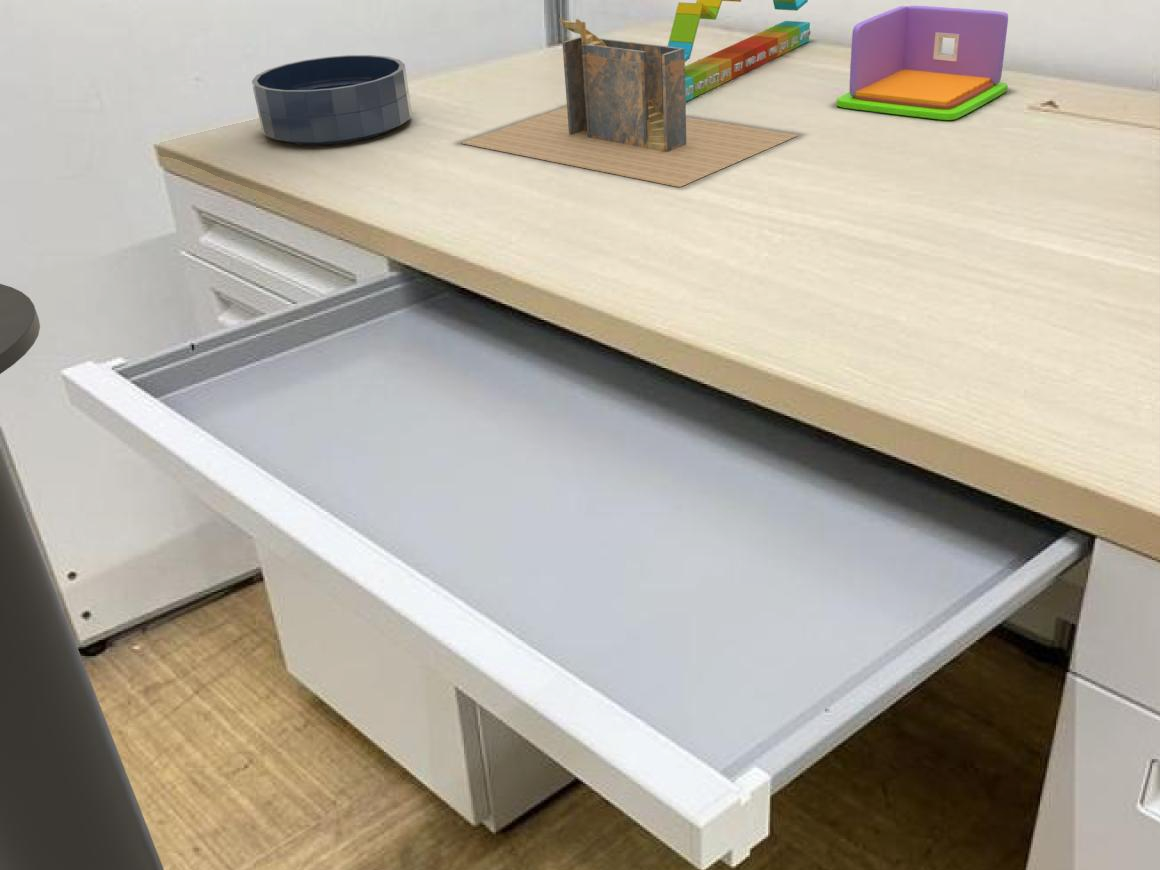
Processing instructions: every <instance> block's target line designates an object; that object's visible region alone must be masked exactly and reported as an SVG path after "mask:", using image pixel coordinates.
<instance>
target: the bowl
mask: <svg viewBox="0 0 1160 870" xmlns="http://www.w3.org/2000/svg"><path fill="white" fill-rule="evenodd" d="M251 85H252V89H253V94H254V100H255V104H256V108H257V113H258V118H259V122H260V127H261V130H262V132H263V134H264V136H266V137H268V138H270V139H272V140H273V139H274V140H275V141H276V140H277V141H284V142H286V143H290V144H294V145H295V144H296V145H301V146H304V145H305V146H328V145H329V146H330V145H338V144H347V143H353V142H359V141H363V140H367V139H371V138H375V137H378V136H381V135H383V134H386V133H389V132H390V131H392V130H393V129H395V128H397V127H399V126H402V125H403V124H405V123H406V122H407V121H409V120H410V119H411V116H412V114H413V111H412V105H411V104H412V103H411V96H410V91H409V82H408V76H407V69H406V64H405V63H404V62H403V61H402V60H401V59H398V58H394V57H390V56H386V55H385V56H384V55H373V54H347V55H334V56H333V55H332V56H324V57H323V56H322V57H317V58H309V59H303V60H298V61H293V62H289V63H285V64H281V65H278V66H275V67H272V68H268V69H266V70H264V71H262V72H260V73H258V74H256V75H255V76H254V77H253V79H252V80H251Z"/></svg>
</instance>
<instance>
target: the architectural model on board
mask: <svg viewBox="0 0 1160 870" xmlns="http://www.w3.org/2000/svg"><path fill="white" fill-rule="evenodd" d="M558 20H559V23H562V28H563V29H566V30H567V31H570V32H572V33H574V34H578V35H580V36H578V37H575V38H572V39H569V40H565V41H562V56H563V57H562V58H563V68H564V69H563V70H564V71H563V72H564V85H565V97H566V99H565V100H566V106H564V107H562V108H559V109H556V110H553V111H550V112H547V113H545V114H540V115H538V116H536V117H533V118H530V119H526V120H524V121H521V122H518V123H515V124H513V125H512V124H511V125H510V126H506V127H503V128H501V129H497V130H495V131H492V132H489V133H486V134H483V135H480V136H478V137H475V138H474V137H473V138H471V139H469V140H466V141H462V142H461V144H463V145H468V146H473V147H478V148H483V149H488V150H492V151H498V152H502V153H503V152H504V153H508V154H512V155H517V156H522V157H528V158H533V159H538V160H543V161H548V162H552V163H558V164H562V165H567V166H572V167H578V168H581V169H582V168H583V169H587V170H593V171H597V172H602V173H607V174H612V175H617V176H622V177H627V178H632V179H637V180H642V181H647V182H652V183H656V184H657V183H658V184H662V185H666V186H667V185H668V186H673V187H676V188H677V187H678V188H681V187H683V186H686V185H688V184H690V183H693V182H695V181H697V180H700V179H702V178H704V177H706V176H709V175H711V174H713V173H715V172H718V171H721V170H722V169H724V168H727V167H729V166H732V165H734V164H737V163H738V162H741V161H743V160H745V159H747V158H750V157H752V156H755V155H757V154H759V153H761V152H764V151H765V150H769V149H770V148H773V147H776V146H777V145H780V144H782V143H784V142H787V141H789V140H791V139H793V138H796V137H798V136H799V135H798V134H793V133H786V132H780V131H774V130H767V129H762V128H754V127H748V126H741V125H736V124H729V123H723V122H717V121H711V120H705V119H704V120H703V119H699V118H697V119H696V118H691V117H687V109H686V108H687V106H686V105H687V103H686V102H687V101H686V97H685V66H686V62H685V48H677V47H668V45H659V44H651V43H643V42H635V41H626V40H617V39H609V38H601V37H598V36H597V35H596V34H594V33H593V32H591V31H590V30H588V29H587V26H586V25H587V24H586V21H581V20H580V19H579V18H575V21H570V20H565V19H563V18H561V17H559V19H558Z"/></svg>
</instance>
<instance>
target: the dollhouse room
mask: <svg viewBox="0 0 1160 870" xmlns="http://www.w3.org/2000/svg"><path fill="white" fill-rule="evenodd" d="M1008 25H1009V14H1008V12H1006V11H999V10H989V9H988V10H986V9H974V8H973V9H972V8H957V7H945V6H943V7H942V6H928V5H901V6H897V7H895V8H892V9H889V10H887V11H884V12H882V13H879V14H877V15H873V16H872V17H869V18H867V19H865V20H862V21H860V22H858V23H856V24H855V25H854V26H853V28H852V34H851V47H850V48H851V49H850V67H849V70H850V71H849V88H848V89H849V92H847V93H844V94H842V95H841V96H839V97H838V98H837V99H836V106H837V107H838V108H842V109H849V110H856V111H857V110H858V111H865V112H866V111H867V112H874V113H883V114H889V115H898V116H905V117H907V116H908V117H915V118H923V119H932V120H940V121H941V120H942V121H954V120H957V119H959V118H962V117H964V116H965V115H967V114H970V113H971V112H974V111H975V110H976V109H978V108H980V107H983V106H984V105H986V104H987V103H989V102H991V101H993V100H995V99H997V98H998V97H1000V96H1002V95H1003V94H1005V93H1006V92H1007V91H1008V83H1006V82H1003V81H1002V82H1001V80H1002V74H1003V67H1004V57H1005V50H1006V41H1007V33H1008ZM944 38H947V39H954V46H953V54H952V53H944V52H943V43H944V42H943V41H944Z"/></svg>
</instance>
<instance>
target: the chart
mask: <svg viewBox="0 0 1160 870" xmlns="http://www.w3.org/2000/svg"><path fill="white" fill-rule="evenodd" d="M808 1H809V0H772V3H773V7H774V10H776V11H777V10H778V11H795V12H796V11H799V10H800V9H801V8H802V7H804V5H806V4H807V3H808ZM723 2H737V3H738V2H739V3H740V2H742V0H696V2H695V3H694V2H680V1H679V2H678V3H677V7H676V11H675V14H674V19H673V22H672V27H671V30H670V35H669V39H668V42H667V46H668V47H677V48H685V63H686V62H687V61H689V60H690V59H691V55H692V51H693V48H694V44H695V41H696V36H697V32H698V28H699V24H700V20H715V21H716V19H717V18H718V14H719V11H720V8H721V6H722V3H723ZM810 28H811V22H810V21H799V20H798V21H795V20H783V21H781V22H779V23H776V24H775V25H773V26H771V27H768V28H766V29H764V30H763V31H760V32H758V33H756V34H754V35H751V36H750V37H749V36H748V37H747V38H745V39H742V40H740V41H738V42H735V43H733V44H730V45H729V46H727V47H725V48H722V49H720V50H718V51H716V52H714V53H711V54H709V55H706V56H704V57H703V58H700V59H698V60H696V61H694V62H691V63H689V64H687V65H685V97H686V102H688V101H690V100H692V99H694V98H696V97H698V96H700V95H703V94H704V93H706V92H708V91H711V90H713V89H714V88H717V87H718V86H721V85H723V84H726V83H728V82H729V81H731V80H733V79H735V78H737V77H739V76H742V75H744V74H745V73H747V72H749V71H752V70H753V69H756V68H757V67H760V66H763V65H764V64H766V63H768V62H770V61H773V60H774V59H776V58H778V57H780V56H783V55H785V54H786V53H787V54H788V53H789V52H790V51H792V50H794V49H796V48H799V47H800V46H802V45H804V44H806V43H808V42H810V36H811V29H810Z"/></svg>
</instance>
